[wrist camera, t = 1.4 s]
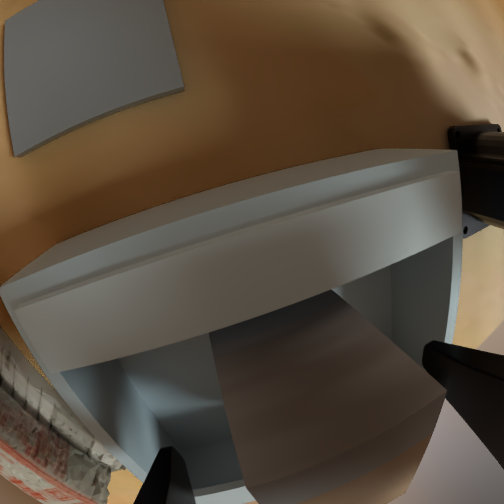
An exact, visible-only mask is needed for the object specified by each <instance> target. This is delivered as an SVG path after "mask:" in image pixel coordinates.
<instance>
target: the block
mask: <svg viewBox="0 0 504 504" xmlns="http://www.w3.org/2000/svg"><path fill="white" fill-rule="evenodd" d="M209 337H210V342H211V347H212V352H213V357H214V362H215V366H216V371H217V375H218V380H219V384H220V389H221V393H222V398H223V402H224V406H225V410H226V414H227V419H228V423H229V427H230V431H231V435H232V438H233V442H234V446H235V450H236V454H237V457H238V461H239V465H240V468H241V472H242V475H243V479H244V482H245V486H246V489H247V490H248V491H249V493H250V494H251V495H252V496H253V497H254V499H255V500H256V501H257V502H258V503H259V504H387V503H389V502H391V501H392V500H394V499H396V498H397V497H399V496H401V495H402V494H404V493H405V492H406V490H407V489H408V487H409V485H410V483H411V481H412V479H413V477H414V475H415V473H416V471H417V468H418V466H419V464H420V462H421V460H422V457H423V455H424V453H425V451H426V448H427V446H428V444H429V441H430V439H431V436H432V434H433V431H434V428H435V426H436V423H437V420H438V417H439V414H440V412H441V409H442V405H443V402H444V399H445V396H446V393H447V390H446V389H445V388H444V387H443V386H442V385H441V384H439V383H438V382H437V381H436V380H435V379H434V378H433V377H432V376H431V375H429V374H428V373H427V372H426V371H425V370H424V369H423V368H422V367H421V366H419V365H418V364H417V363H416V362H415V361H414V360H413V359H412V358H410V357H409V356H408V355H407V354H406V353H405V352H404V351H402V350H401V349H400V348H399V347H398V346H397V345H396V344H395V343H393V342H392V341H391V340H390V339H389V338H388V337H387V336H385V335H384V334H383V333H382V332H381V331H380V330H379V329H377V328H376V327H375V326H374V325H373V324H372V323H370V322H369V321H368V320H367V319H366V318H365V317H363V316H362V315H361V314H360V313H359V312H358V311H357V310H355V309H354V308H353V307H352V306H351V305H350V304H348V303H347V302H346V301H345V300H344V299H342V298H341V297H340V296H339V295H338V294H337V293H335V292H334V291H333V290H332V289H331V290H328V291H325V292H323V293H320V294H318V295H315V296H312V297H310V298H307V299H304V300H302V301H299V302H296V303H294V304H291V305H288V306H285V307H283V308H280V309H277V310H274V311H272V312H269V313H266V314H263V315H260V316H257V317H254V318H251V319H248V320H245V321H242V322H239V323H236V324H233V325H230V326H227V327H224V328H221V329H218V330H215V331H212V332H209Z"/></svg>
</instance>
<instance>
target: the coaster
mask: <svg viewBox="0 0 504 504" xmlns="http://www.w3.org/2000/svg"><path fill="white" fill-rule="evenodd" d="M4 77H5V93H6V104H7V113H8V121H9V128H10V134H11V140H12V146H13V151H14V156H15V157H23V156H24V155H26V154H28V153H30V152H31V151H33V150H35V149H37V148H39V147H41V146H43V145H44V144H46V143H48V142H50V141H52V140H54V139H56V138H58V137H60V136H62V135H65V134H67V133H69V132H71V131H73V130H75V129H77V128H80V127H82V126H84V125H87V124H89V123H91V122H94V121H96V120H98V119H101V118H103V117H106V116H108V115H111V114H114V113H116V112H119V111H122V110H124V109H127V108H130V107H133V106H136V105H139V104H142V103H145V102H148V101H151V100H154V99H157V98H160V97H164V96H167V95H171V94H174V93H178V92H181V91H184V83H183V79H182V75H181V71H180V67H179V63H178V59H177V55H176V51H175V47H174V43H173V39H172V35H171V31H170V27H169V22H168V18H167V14H166V10H165V5H164V1H163V0H39V1H37V2H35V3H34V4H32V5H30V6H28V7H27V8H25V9H23V10H21V11H20V12H18V13H17V14H15V15H13V16H12V17H10V18H9V19H7V20H6V21H5V33H4Z"/></svg>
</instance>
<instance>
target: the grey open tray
mask: <svg viewBox="0 0 504 504" xmlns="http://www.w3.org/2000/svg"><path fill="white" fill-rule="evenodd" d="M462 236H463V225H462V196H461V181H460V170H459V161H458V153H457V150H441V149H375V150H370V151H365V152H359V153H354V154H349V155H344V156H340V157H335V158H330V159H326V160H321V161H317V162H312V163H308V164H304V165H299V166H295V167H291V168H287V169H283V170H279V171H275V172H271V173H267V174H263V175H260V176H256V177H252V178H248V179H245V180H241V181H237V182H234V183H230V184H227V185H223V186H220V187H216V188H213V189H210V190H206V191H203V192H200V193H196V194H193V195H190V196H187V197H184V198H181V199H177V200H174V201H171V202H168V203H165V204H162V205H159V206H156V207H153V208H150V209H147V210H144V211H141V212H139V213H136V214H133V215H130V216H127V217H124V218H122V219H119V220H116V221H114V222H111V223H108V224H105V225H103V226H100V227H98V228H95V229H92V230H90V231H87V232H85V233H82V234H80V235H77V236H75V237H72V238H70V239H67V240H65V241H62V242H60V243H58V244H55V245H54V246H53V247H51V248H50V249H48V250H47V251H46V252H44V253H43V254H41V255H40V256H39V257H37V258H36V259H35V260H33V261H32V262H31V263H29V264H28V265H27V266H25V267H24V268H23V269H21V270H20V271H19V272H18V273H16V274H15V275H14V276H13V277H11V278H10V279H9V280H8V281H6V282H5V283H4V284H3V285H1V286H0V296H1V298H2V300H3V303H4V305H5V307H6V309H7V311H8V313H9V315H10V317H11V318H12V320H13V322H14V324H15V326H16V328H17V330H18V331H19V333H20V335H21V337H22V338H23V340H24V342H25V344H26V345H27V347H28V349H29V350H30V352H31V354H32V355H33V357H34V358H35V360H36V361H37V363H38V364H39V366H40V368H41V369H42V371H43V372H44V373H45V375H46V376H47V378H48V379H49V381H50V382H51V383H52V385H53V386H54V388H55V389H56V390H57V392H58V393H59V394H60V396H61V397H62V398H63V400H64V401H65V402H66V403H67V405H68V406H69V407H70V408H71V410H72V411H73V412H74V413H75V415H76V416H77V417H78V418H79V419H80V421H81V422H82V423H83V424H84V425H85V426H86V427H87V429H88V430H89V431H90V432H91V433H92V434H93V435H94V436H95V437H96V438H97V439H98V441H99V442H100V443H101V444H102V445H103V446H104V447H105V448H106V449H107V450H108V451H109V452H110V453H111V454H112V455H113V456H114V457H115V458H116V459H117V460H118V461H119V462H120V463H121V464H123V465H124V466H125V467H126V468H127V469H128V470H129V471H130V472H131V473H132V474H134V475H135V476H136V477H137V478H138V479H139V480H140V481H142V482H143V483H144V481H145V479H146V476H147V474H148V472H149V470H150V468H151V466H152V464H153V462H154V460H155V458H156V456H157V453H158V451H159V449H160V448H162V447H166V446H173V447H174V448H175V449H176V450H177V451H178V452H179V454H180V455H181V456H182V457H183V459H184V461H185V463H186V467H187V471H188V475H189V479H190V483H191V486H192V490H193V493H194V497H195V501H196V504H244V503H248V502H252V501H255V499H254V497H253V496H252V495H251V494H250V493H249V491H248V490H247V489H246V486H245V482H244V479H243V475H242V472H241V468H240V465H239V461H238V457H237V454H236V450H235V446H234V442H233V438H232V435H231V431H230V427H229V423H228V419H227V414H226V410H225V406H224V402H223V398H222V393H221V389H220V384H219V380H218V375H217V371H216V366H215V362H214V357H213V352H212V347H211V342H210V337H209V332H212V331H215V330H218V329H221V328H224V327H227V326H230V325H233V324H236V323H239V322H242V321H245V320H248V319H251V318H254V317H257V316H260V315H263V314H266V313H269V312H272V311H274V310H277V309H280V308H283V307H285V306H288V305H291V304H294V303H296V302H299V301H302V300H304V299H307V298H310V297H312V296H315V295H318V294H320V293H323V292H325V291H328V290H331V289H332V290H333V291H334V292H335V293H337V294H338V295H339V296H340V297H341V298H342V299H344V300H345V301H346V302H347V303H348V304H350V305H351V306H352V307H353V308H354V309H355V310H357V311H358V312H359V313H360V314H361V315H362V316H363V317H365V318H366V319H367V320H368V321H369V322H370V323H372V324H373V325H374V326H375V327H376V328H377V329H379V330H380V331H381V332H382V333H383V334H384V335H385V336H387V337H388V338H389V339H390V340H391V341H392V342H393V343H395V344H396V345H397V346H398V347H399V348H400V349H401V350H402V351H404V352H405V353H406V354H407V355H408V356H409V357H410V358H412V359H413V360H414V361H415V362H416V363H417V364H418V365H419V366H421V367H422V368H423V369H424V367H423V365H422V355H423V348H424V346H425V345H426V344H427V343H429V342H430V341H432V340H436V341H441V342H445V343H449V344H452V341H453V335H454V329H455V323H456V316H457V309H458V301H459V291H460V280H461V266H462ZM424 370H425V369H424ZM425 371H426V370H425ZM426 372H427V371H426Z"/></svg>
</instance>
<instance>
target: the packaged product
mask: <svg viewBox="0 0 504 504" xmlns="http://www.w3.org/2000/svg"><path fill="white" fill-rule="evenodd" d="M121 469H123V470H125V469H126V467H125V466H124V465H123V464H121V463H120V462H119V461H118V460H117V459H116V458H115V457H114V456H113V455H112V454H111V453H110V452H109V451H108V450H107V449H106V448H105V447H104V446H103V445H102V444H101V443H100V442H99V441H98V439H97V438H96V437H95V436H94V435H93V434H92V433H91V432H90V431H89V430H88V429H87V427H86V426H85V425H84V424H83V423H82V422H81V421H80V419H79V418H78V417H77V416H76V415H75V413H74V412H73V411H72V410H71V408H70V407H69V406H68V405H67V403H66V402H65V401H64V400H63V398H62V397H61V396H60V394H59V393H58V392H57V391H56V390H55V389H54V388H53V387H52V386H51V385H50V384H49V383H48V382H47V381H46V380H45V379H44V378H43V377H42V376H41V375H40V373H39V372H38V371H37V370H36V369H35V368H34V367H33V366H32V365H31V364H30V362H29V361H28V360H27V359H26V358H25V357H24V355H23V354H22V353H21V352H20V351H19V349H18V348H17V347H16V346H15V344H14V343H13V342H12V341H11V339H10V338H9V337H8V336H7V334H6V333H5V332H4V331H3V329H2V328H1V327H0V474H1V475H2V476H4V477H5V478H6V479H7V480H8V481H10V482H11V483H13V484H14V485H16V486H17V487H19V488H20V489H21V490H22V491H24V492H25V493H27V494H28V495H30V496H32V497H33V498H35V499H37V500H38V501H40V502H41V503H43V504H107V497H108V496H109V494H110V493H109V491H108V489H107V486H108V484H109V482H110V478H111V472H113V471H116V470H121Z"/></svg>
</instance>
